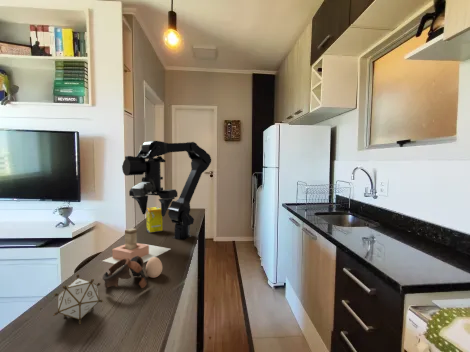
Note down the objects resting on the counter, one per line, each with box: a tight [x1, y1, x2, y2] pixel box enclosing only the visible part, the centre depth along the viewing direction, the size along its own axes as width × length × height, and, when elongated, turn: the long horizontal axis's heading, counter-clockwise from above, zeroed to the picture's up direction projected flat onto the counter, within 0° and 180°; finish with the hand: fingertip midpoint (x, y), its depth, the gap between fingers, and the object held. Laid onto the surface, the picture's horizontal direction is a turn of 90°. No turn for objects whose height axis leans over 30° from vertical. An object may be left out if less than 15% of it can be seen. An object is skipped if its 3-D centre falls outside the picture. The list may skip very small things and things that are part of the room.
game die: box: [52, 273, 104, 325], centre depth 51 cm, size 9×8×10 cm
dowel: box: [124, 227, 138, 250], centre depth 82 cm, size 3×3×9 cm
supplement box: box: [145, 206, 164, 234], centre depth 112 cm, size 6×6×11 cm
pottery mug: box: [102, 256, 148, 289], centre depth 64 cm, size 12×10×8 cm
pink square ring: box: [111, 242, 150, 260], centre depth 82 cm, size 8×8×3 cm
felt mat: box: [102, 243, 171, 267], centre depth 84 cm, size 18×13×1 cm
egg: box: [145, 256, 163, 279], centre depth 68 cm, size 4×4×6 cm
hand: (153, 215), depth 93 cm, fingers open, 9 cm apart
